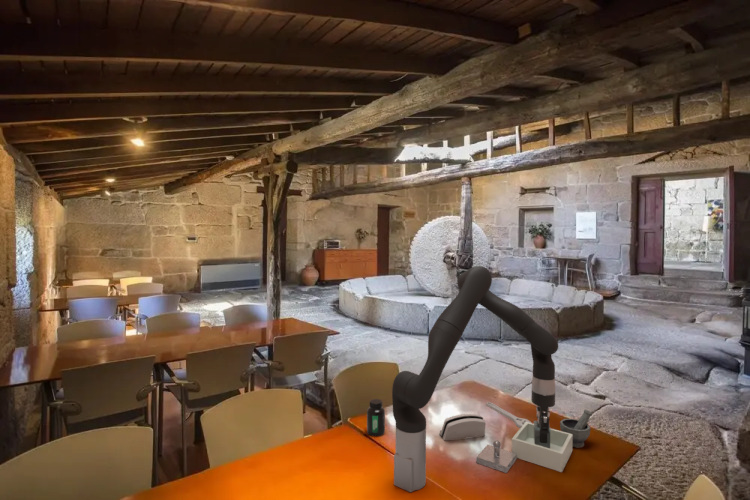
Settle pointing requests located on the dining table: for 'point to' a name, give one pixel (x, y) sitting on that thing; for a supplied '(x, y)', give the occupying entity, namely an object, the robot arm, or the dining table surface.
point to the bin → (539, 454)
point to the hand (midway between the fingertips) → (542, 438)
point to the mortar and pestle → (577, 428)
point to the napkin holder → (463, 427)
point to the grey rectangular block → (537, 435)
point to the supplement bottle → (375, 418)
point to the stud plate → (496, 457)
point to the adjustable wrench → (508, 415)
